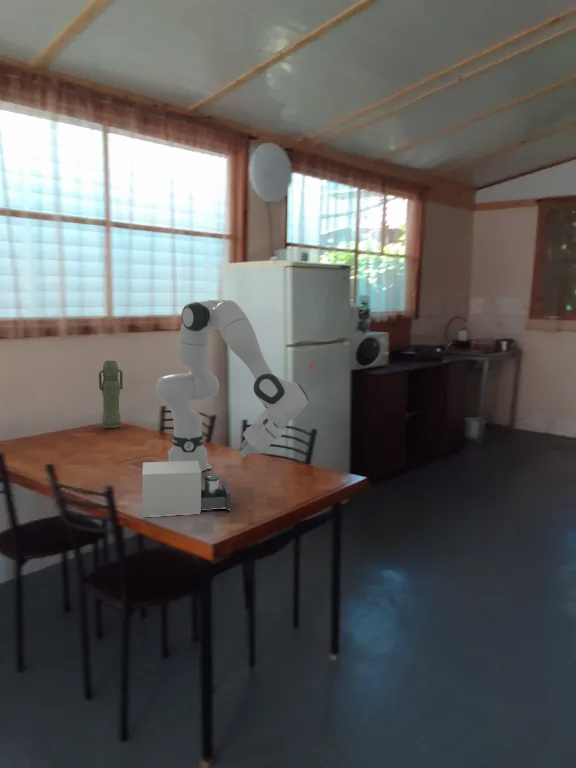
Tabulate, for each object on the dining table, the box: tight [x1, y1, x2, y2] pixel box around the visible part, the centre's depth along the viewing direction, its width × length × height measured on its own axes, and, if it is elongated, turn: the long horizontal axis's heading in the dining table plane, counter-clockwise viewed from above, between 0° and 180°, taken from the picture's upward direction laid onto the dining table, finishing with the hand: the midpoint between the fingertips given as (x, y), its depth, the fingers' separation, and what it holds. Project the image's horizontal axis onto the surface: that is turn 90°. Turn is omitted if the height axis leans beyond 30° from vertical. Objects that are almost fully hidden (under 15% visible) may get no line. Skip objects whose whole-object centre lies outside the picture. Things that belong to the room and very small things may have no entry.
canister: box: [204, 473, 220, 498], centre depth 199 cm, size 5×5×9 cm
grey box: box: [141, 461, 202, 517], centre depth 195 cm, size 14×18×14 cm
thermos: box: [98, 360, 124, 429], centre depth 314 cm, size 9×12×35 cm
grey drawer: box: [201, 480, 231, 510], centre depth 198 cm, size 13×17×6 cm
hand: (240, 453), depth 199 cm, fingers open, 3 cm apart
